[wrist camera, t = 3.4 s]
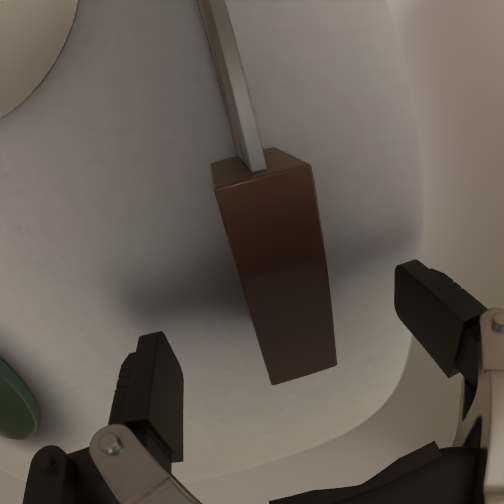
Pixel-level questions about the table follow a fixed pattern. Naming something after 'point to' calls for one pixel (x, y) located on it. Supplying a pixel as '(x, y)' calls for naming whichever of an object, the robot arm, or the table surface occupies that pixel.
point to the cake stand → (16, 406)
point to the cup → (30, 45)
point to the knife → (270, 226)
